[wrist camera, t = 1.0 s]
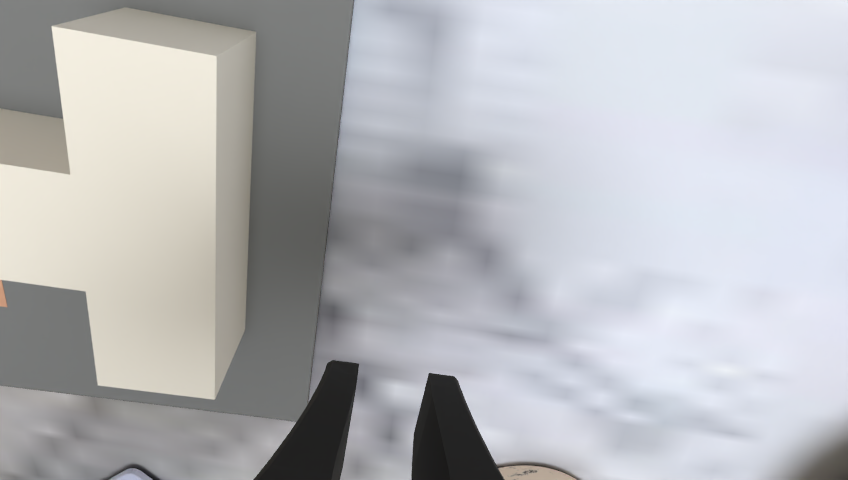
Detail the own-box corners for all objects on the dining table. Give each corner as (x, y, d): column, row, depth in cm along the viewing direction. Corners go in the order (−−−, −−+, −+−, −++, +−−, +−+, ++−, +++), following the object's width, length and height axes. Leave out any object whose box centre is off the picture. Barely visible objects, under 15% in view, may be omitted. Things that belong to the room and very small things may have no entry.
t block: (256, 31, 18) (216, 56, 14) (245, 329, 23) (214, 399, 20) (-155, -46, 16) (-310, -40, 13) (-62, 288, 22) (-152, 354, 19)
